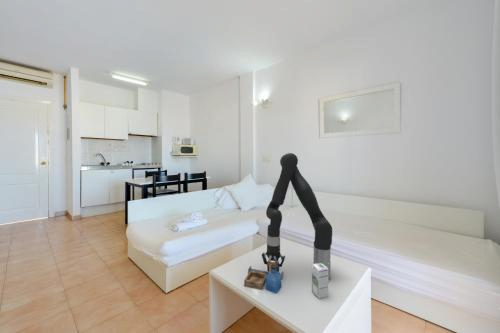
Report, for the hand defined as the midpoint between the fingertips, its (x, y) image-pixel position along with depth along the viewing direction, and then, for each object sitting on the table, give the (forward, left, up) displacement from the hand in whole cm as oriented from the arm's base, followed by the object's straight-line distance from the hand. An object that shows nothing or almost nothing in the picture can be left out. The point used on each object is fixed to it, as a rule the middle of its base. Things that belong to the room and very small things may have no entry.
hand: (273, 272), depth 120 cm
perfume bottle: (-3, +11, -3) cm, 11 cm away
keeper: (+8, +9, -2) cm, 12 cm away
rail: (+5, 0, -2) cm, 5 cm away
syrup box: (-25, +8, -3) cm, 27 cm away
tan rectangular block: (+2, 0, -1) cm, 2 cm away
